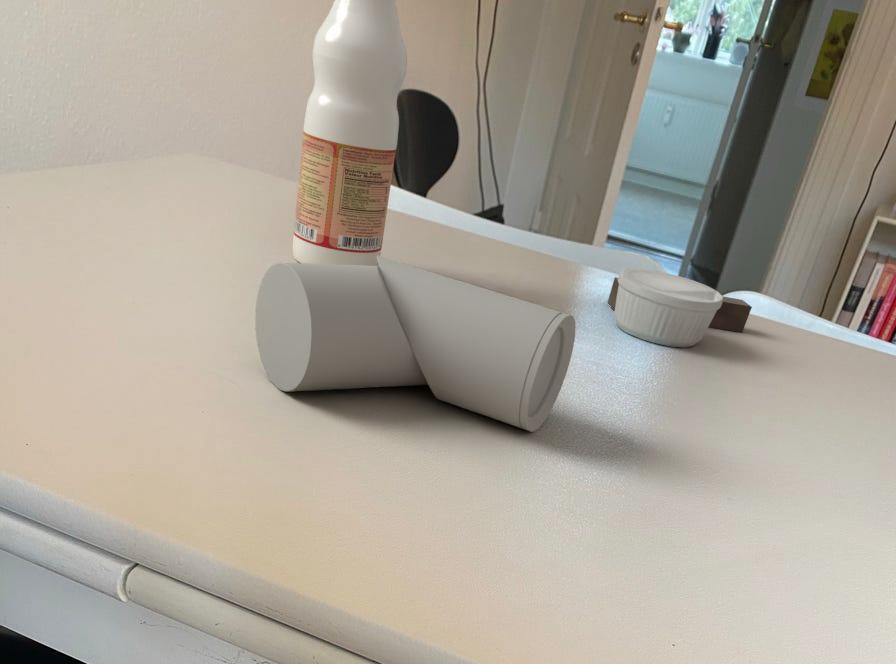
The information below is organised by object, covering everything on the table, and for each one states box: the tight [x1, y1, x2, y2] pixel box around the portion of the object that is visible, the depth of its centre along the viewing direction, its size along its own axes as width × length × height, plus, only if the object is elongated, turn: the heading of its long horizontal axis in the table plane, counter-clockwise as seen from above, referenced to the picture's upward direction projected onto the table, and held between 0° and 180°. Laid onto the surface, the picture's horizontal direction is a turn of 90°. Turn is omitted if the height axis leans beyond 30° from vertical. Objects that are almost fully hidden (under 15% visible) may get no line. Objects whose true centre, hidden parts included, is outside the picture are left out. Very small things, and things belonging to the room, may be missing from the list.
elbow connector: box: [254, 255, 576, 433], centre depth 65 cm, size 18×11×20 cm
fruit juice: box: [292, 0, 408, 266], centre depth 90 cm, size 9×9×28 cm
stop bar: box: [606, 277, 752, 333], centre depth 105 cm, size 16×3×3 cm, turn 94°
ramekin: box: [613, 268, 723, 348], centre depth 97 cm, size 11×11×5 cm
